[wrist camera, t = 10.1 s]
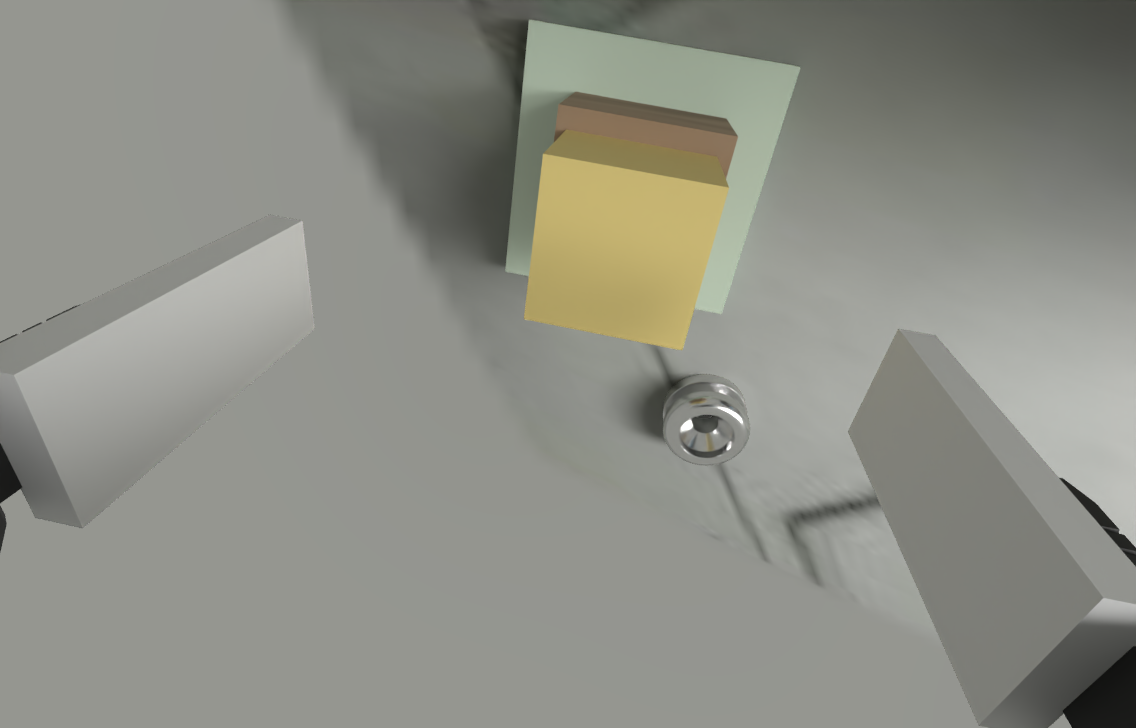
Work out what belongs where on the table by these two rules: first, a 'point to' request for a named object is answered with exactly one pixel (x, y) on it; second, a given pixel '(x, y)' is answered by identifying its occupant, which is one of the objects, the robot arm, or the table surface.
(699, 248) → the mustard cube
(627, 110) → the walnut base
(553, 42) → the build plate
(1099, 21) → the table surface
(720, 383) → the metal grooved wheel
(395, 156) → the table surface
